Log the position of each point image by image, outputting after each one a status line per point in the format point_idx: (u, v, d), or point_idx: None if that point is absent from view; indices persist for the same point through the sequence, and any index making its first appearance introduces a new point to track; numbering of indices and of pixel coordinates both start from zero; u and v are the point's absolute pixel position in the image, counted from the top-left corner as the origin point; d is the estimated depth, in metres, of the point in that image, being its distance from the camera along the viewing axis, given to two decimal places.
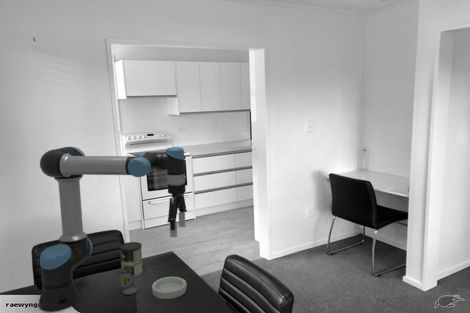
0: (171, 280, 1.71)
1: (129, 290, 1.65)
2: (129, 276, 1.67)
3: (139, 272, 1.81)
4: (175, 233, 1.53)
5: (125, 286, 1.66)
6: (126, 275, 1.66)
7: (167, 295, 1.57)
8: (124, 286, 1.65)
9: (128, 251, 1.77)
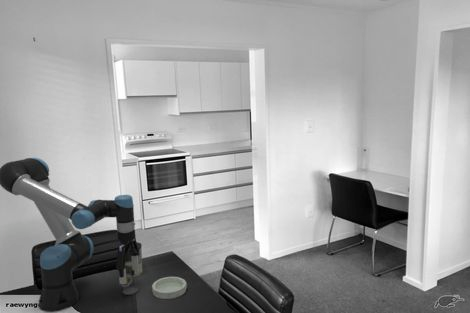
0: (171, 280, 1.71)
1: (129, 290, 1.65)
2: (129, 276, 1.67)
3: (139, 272, 1.81)
4: (124, 280, 1.57)
5: (125, 286, 1.66)
6: (126, 275, 1.66)
7: (167, 295, 1.57)
8: (124, 286, 1.65)
9: None
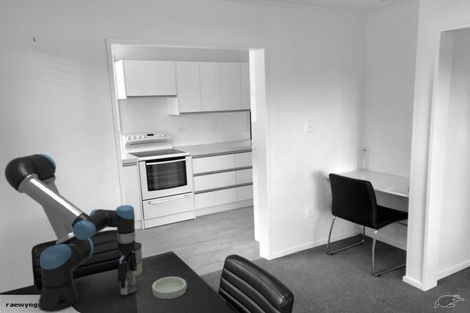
0: (171, 280, 1.71)
1: (128, 289, 1.65)
2: (128, 275, 1.67)
3: (139, 272, 1.81)
4: (125, 291, 1.60)
5: None
6: None
7: (167, 295, 1.57)
8: None
9: None
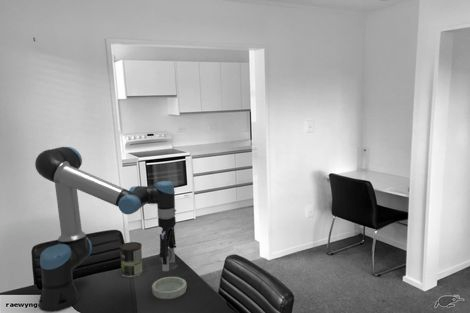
0: (171, 280, 1.71)
1: None
2: (168, 252, 1.65)
3: (139, 272, 1.81)
4: (167, 267, 1.58)
5: None
6: None
7: (167, 295, 1.57)
8: None
9: (128, 251, 1.77)
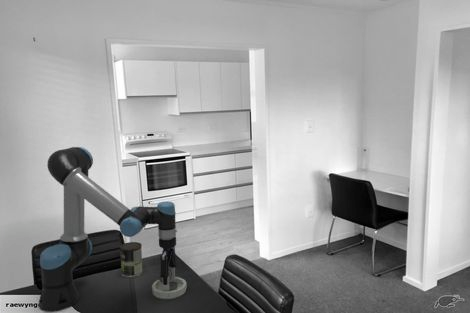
0: None
1: (169, 285, 1.65)
2: None
3: (139, 272, 1.81)
4: (167, 287, 1.60)
5: None
6: None
7: (167, 295, 1.57)
8: None
9: (128, 251, 1.77)
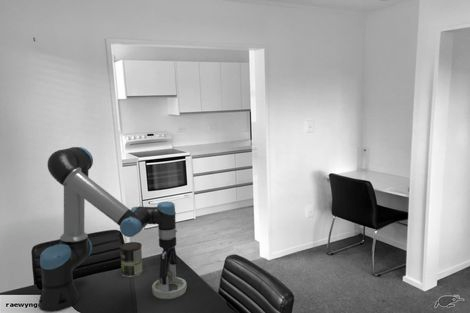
0: (171, 280, 1.71)
1: (169, 287, 1.65)
2: (169, 273, 1.67)
3: (139, 272, 1.81)
4: (166, 287, 1.58)
5: None
6: None
7: (167, 295, 1.57)
8: None
9: (128, 251, 1.77)
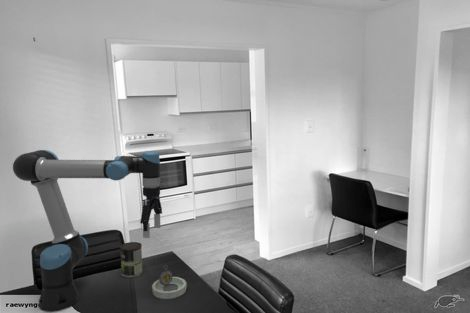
0: (171, 280, 1.71)
1: (169, 287, 1.65)
2: (169, 273, 1.67)
3: (139, 272, 1.81)
4: (148, 234, 1.59)
5: (165, 283, 1.66)
6: (166, 272, 1.66)
7: (167, 295, 1.57)
8: (164, 283, 1.65)
9: (128, 251, 1.77)
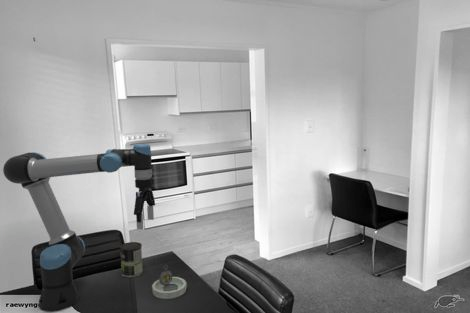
0: (171, 280, 1.71)
1: (169, 287, 1.65)
2: (169, 273, 1.67)
3: (139, 272, 1.81)
4: (141, 225, 1.61)
5: (165, 283, 1.66)
6: (166, 272, 1.66)
7: (167, 295, 1.57)
8: (164, 283, 1.65)
9: (128, 251, 1.77)
